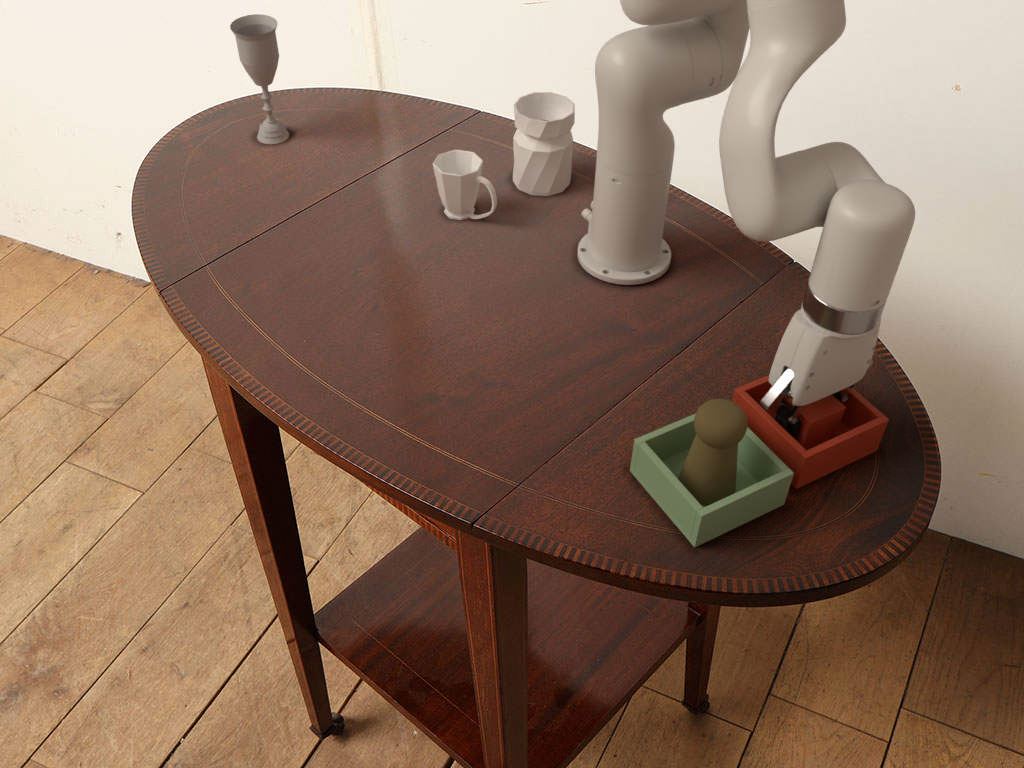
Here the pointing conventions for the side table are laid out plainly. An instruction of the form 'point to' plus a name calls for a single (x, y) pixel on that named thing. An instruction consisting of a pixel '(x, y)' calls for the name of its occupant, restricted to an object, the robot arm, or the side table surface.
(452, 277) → the side table surface
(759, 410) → the rust bin
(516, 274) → the side table surface
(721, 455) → the olive brown pawn
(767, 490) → the sage bin
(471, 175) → the cup
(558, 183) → the vase
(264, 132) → the chalice
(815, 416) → the rust block
